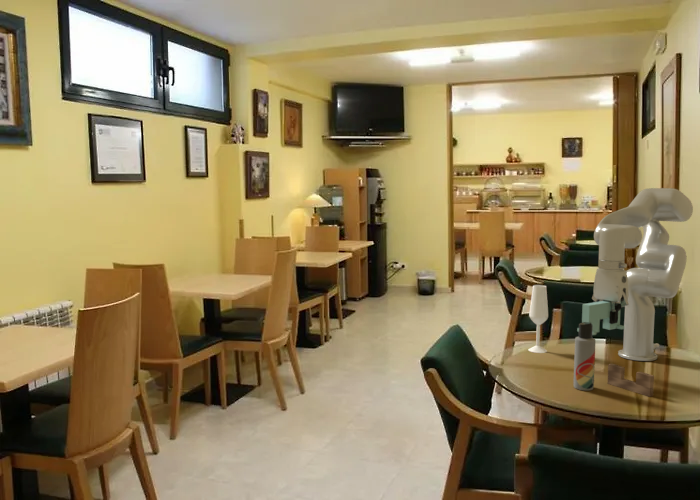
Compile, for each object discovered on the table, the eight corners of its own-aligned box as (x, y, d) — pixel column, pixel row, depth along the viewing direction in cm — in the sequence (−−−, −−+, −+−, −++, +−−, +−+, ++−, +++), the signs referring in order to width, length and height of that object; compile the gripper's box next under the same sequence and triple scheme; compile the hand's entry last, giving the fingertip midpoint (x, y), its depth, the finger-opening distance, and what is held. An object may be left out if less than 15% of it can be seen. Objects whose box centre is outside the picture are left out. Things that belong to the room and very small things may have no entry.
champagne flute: (531, 347, 233) (533, 284, 230) (549, 349, 229) (551, 285, 226) (525, 351, 227) (527, 286, 225) (543, 353, 223) (545, 288, 221)
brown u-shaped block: (607, 383, 190) (608, 364, 189) (610, 382, 191) (611, 363, 190) (649, 396, 178) (650, 376, 177) (652, 395, 179) (653, 375, 178)
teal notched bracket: (608, 325, 203) (609, 298, 202) (624, 328, 198) (625, 301, 197) (577, 331, 196) (578, 303, 195) (593, 335, 191) (594, 306, 190)
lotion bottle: (591, 392, 182) (594, 325, 180) (571, 388, 185) (573, 323, 183) (595, 386, 187) (597, 321, 185) (575, 383, 190) (578, 319, 188)
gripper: (641, 267, 192) (639, 325, 194) (597, 261, 205) (595, 316, 207) (626, 269, 188) (623, 328, 190) (582, 263, 202) (580, 318, 204)
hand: (608, 321), depth 199 cm, fingers closed on teal notched bracket, 2 cm apart
